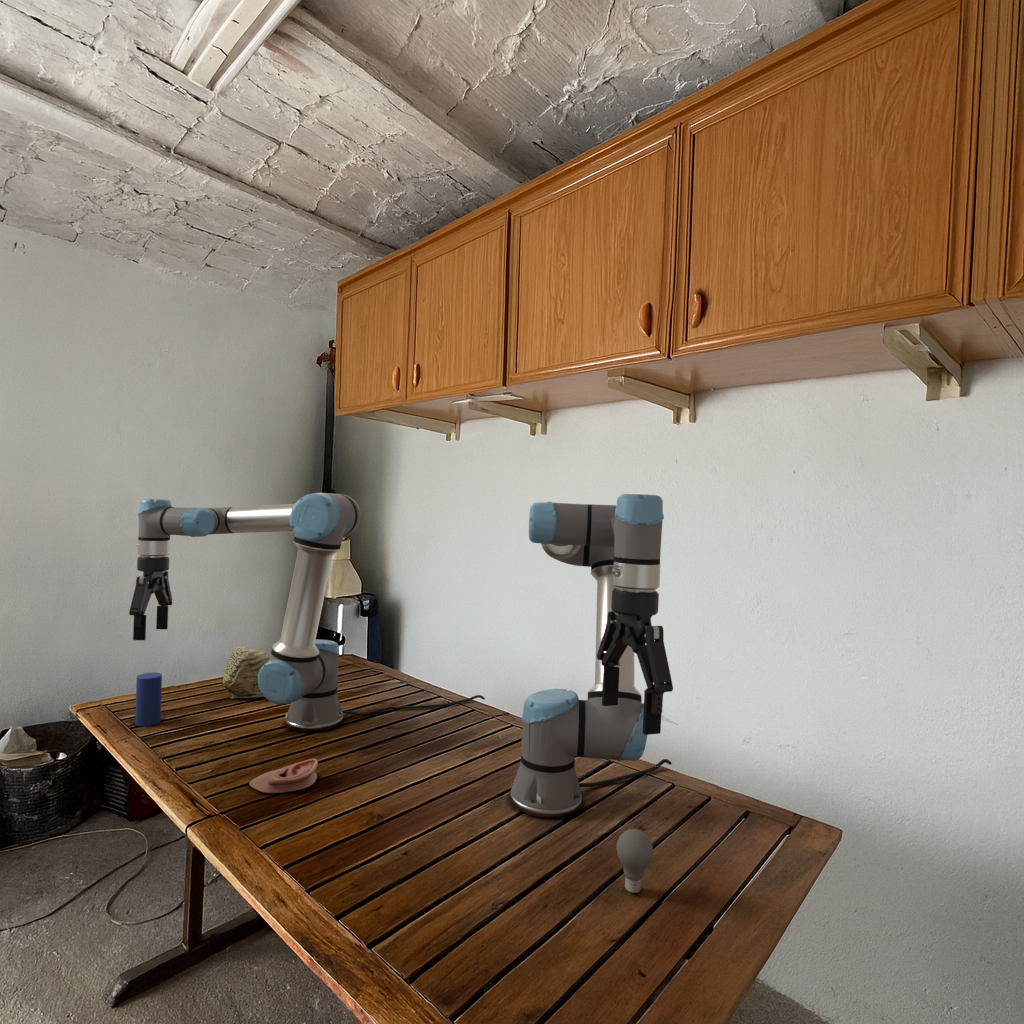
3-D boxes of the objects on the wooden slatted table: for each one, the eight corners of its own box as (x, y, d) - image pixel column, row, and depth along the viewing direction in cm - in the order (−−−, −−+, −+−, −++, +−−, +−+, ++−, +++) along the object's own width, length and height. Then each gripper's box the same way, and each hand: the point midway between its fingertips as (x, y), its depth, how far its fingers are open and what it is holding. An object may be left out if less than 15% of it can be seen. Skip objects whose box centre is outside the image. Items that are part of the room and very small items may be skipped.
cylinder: (160, 717, 175) (162, 671, 175) (160, 724, 170) (161, 677, 170) (135, 720, 172) (137, 673, 172) (134, 727, 167) (136, 679, 167)
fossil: (218, 695, 195) (220, 647, 195) (278, 685, 208) (279, 640, 207) (228, 703, 189) (230, 653, 188) (289, 692, 201) (290, 645, 201)
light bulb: (610, 879, 108) (613, 822, 108) (644, 879, 109) (647, 822, 109) (619, 902, 102) (622, 840, 102) (655, 901, 103) (658, 840, 103)
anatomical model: (241, 770, 135) (272, 750, 146) (240, 789, 135) (271, 767, 146) (297, 779, 132) (324, 757, 144) (297, 798, 132) (324, 775, 144)
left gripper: (159, 551, 182) (156, 624, 183) (115, 560, 158) (112, 644, 158) (186, 552, 183) (183, 625, 184) (147, 561, 159) (144, 645, 159)
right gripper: (581, 578, 114) (576, 696, 114) (656, 601, 90) (649, 749, 90) (618, 578, 116) (613, 693, 116) (701, 601, 92) (694, 745, 93)
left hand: (151, 634), depth 171 cm, fingers open, 13 cm apart
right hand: (629, 718), depth 103 cm, fingers open, 13 cm apart
